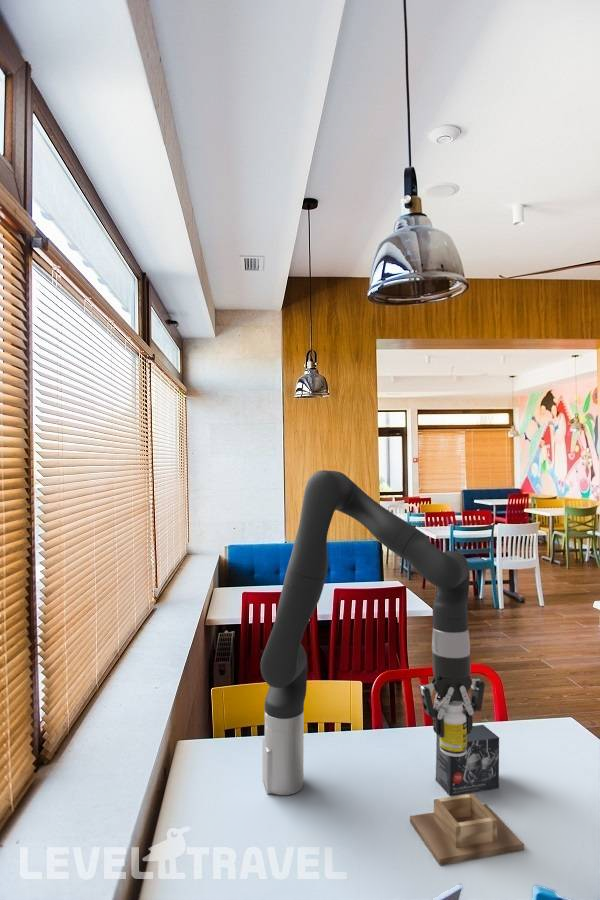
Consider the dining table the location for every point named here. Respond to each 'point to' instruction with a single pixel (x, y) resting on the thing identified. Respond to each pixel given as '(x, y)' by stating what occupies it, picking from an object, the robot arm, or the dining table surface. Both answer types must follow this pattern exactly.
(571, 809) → the dining table surface
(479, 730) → the small box
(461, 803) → the holder stand
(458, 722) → the supplement bottle
